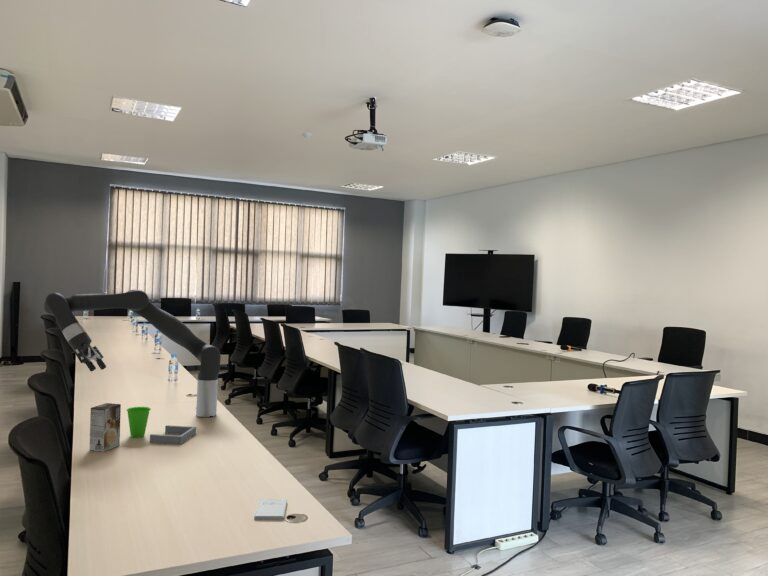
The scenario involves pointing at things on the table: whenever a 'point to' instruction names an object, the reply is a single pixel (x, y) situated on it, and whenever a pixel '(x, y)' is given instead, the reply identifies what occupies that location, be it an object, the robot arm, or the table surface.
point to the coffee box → (105, 427)
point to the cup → (138, 420)
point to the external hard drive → (271, 509)
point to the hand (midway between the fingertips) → (99, 369)
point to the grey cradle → (173, 439)
